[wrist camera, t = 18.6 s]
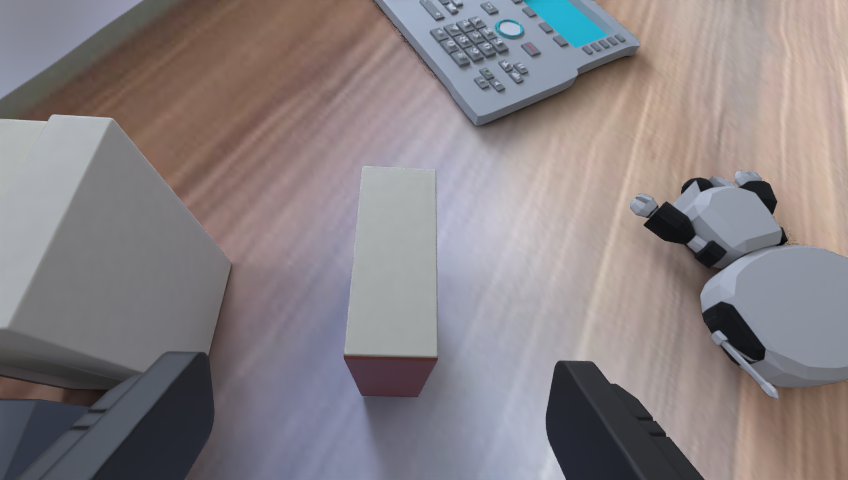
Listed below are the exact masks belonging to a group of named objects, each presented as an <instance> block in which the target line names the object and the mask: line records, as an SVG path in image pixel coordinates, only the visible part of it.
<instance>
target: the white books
mask: <svg viewBox="0 0 848 480" xmlns="http://www.w3.org/2000/svg"><path fill="white" fill-rule="evenodd" d="M231 264H232V262H231V261H230V260H229V258H228V257H227V256H226V255H225V253H224V252H223V251H222V250H221V249H220V247H219V246H218V245H217V244H216V243H215V241H214V240H213V239H212V238H211V237H210V235H209V234H208V233H207V232H206V230H205V229H204V228H203V227H202V226H201V224H200V223H199V222H198V221H197V220H196V218H195V217H194V216H193V215H192V214H191V212H190V211H189V210H188V209H187V207H186V206H185V205H184V204H183V203H182V201H181V200H180V199H179V198H178V197H177V195H176V194H175V193H174V192H173V190H172V189H171V188H170V187H169V186H168V184H167V183H166V182H165V181H164V180H163V178H162V177H161V176H160V175H159V174H158V172H157V171H156V170H155V169H154V167H153V166H152V165H151V164H150V163H149V161H148V160H147V159H146V158H145V157H144V155H143V154H142V153H141V152H140V150H139V149H138V148H137V147H136V146H135V144H134V143H133V142H132V141H131V140H130V138H129V137H128V136H127V135H126V134H125V132H124V131H123V130H122V129H121V127H120V126H119V125H118V124H117V123H116V121H115V120H114V119H112V118H101V117H85V116H68V115H52V116H51V117H50V119H49V120H48V122H45V121H28V120H11V119H0V376H1V377H6V378H11V379H16V380H22V381H27V382H32V383H37V384H42V385H47V386H53V387H58V388H63V389H112V388H113V387H115V386H117V385H119V384H120V383H122V382H124V381H125V380H127V379H129V378H131V377H132V376H134V375H136V374H143V373H144V372H145V371H146V370H147V369H148V368H149V367H150V366H151V365H152V364H153V363H154V362H155V361H156V360H157V359H158V358H159V357H160V356H161V355H162V354H164V353H165V352H167V351H185V352H205V353H206V354H207V356H208V355H209V351H210V347H211V343H212V339H213V335H214V331H215V327H216V323H217V319H218V316H219V312H220V308H221V304H222V300H223V296H224V292H225V288H226V284H227V280H228V276H229V272H230V268H231Z"/></svg>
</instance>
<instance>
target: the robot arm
mask: <svg viewBox="0 0 848 480" xmlns="http://www.w3.org/2000/svg"><path fill="white" fill-rule="evenodd" d="M213 422H214V400H213V391H212V383H211V374H210V365H209V359H208V356H207V354H206V353H205V352H185V351H167V352H165V353H164V354H162V355H161V356H160V357H159V358H158V359H157V360H156V361H155V362H154V363H153V364H152V365H151V366H150V367H149V368H148V369H147V370H146V371H145V372H144V373H143V374H136V375H134V376H132V377H131V378H129V379H127V380H125V381H124V382H122V383H120V384H119V385H117V386H115V387H113V388H112V389H110V390H108V391H107V392H106V393H105V394H104V395H103V396H102V397H101V398H100V399H99V400H98V401H97V402H96V403H95V404H94V405H93V406H91V407H90V408H89V409H88V413H84V414H83V415H82V416H81V417H80V418H79V419H78V420H77V421H76V422H74V423H73V424H72V425H71V428H70V430H69V431H65V432H64V433H63V434H62V435H61V436H60V437H59V438H58V439H56V440H55V441H54V442H53V443H52V444H51V445H50V446H49V447H48V448H47V449H46V450H45V451H44V452H43V453H42V454H41V455H39V456H38V457H37V458H36V459H35V460H34V461H33V462H32V463H31V464H30V465H29V466H28V467H27V468H26V469H25V470H24V471H23V472H21V473H20V474H19V475H18V476H17V477H16V478H15V479H14V480H184V479H185V477H186V475H187V474H188V472H189V470H190V468H191V467H192V465H193V463H194V462H195V460H196V458H197V457H198V455H199V453H200V452H201V450H202V448H203V447H204V445H205V443H206V442H207V440H208V438H209V435H210V433H211V430H212V426H213ZM546 430H547V436H548V440H549V443H550V445H551V447H552V449H553V452H554V454H555V456H556V458H557V461H558V463H559V465H560V467H561V469H562V472H563V474H564V476H565V478H566V480H704V478H703V477H702V476H701V475H700V474H699V472H698V471H697V470H696V469H695V468H694V466H693V465H692V464H691V463H690V462H689V460H688V459H687V458H686V457H685V455H684V454H683V453H682V452H681V451H680V449H679V448H678V447H677V446H676V445H675V443H674V442H673V441H672V440H671V439H670V437H666V433H665V431H664V430H663V429H662V428H661V427H660V425H659V424H658V423H657V422H656V421H653V417H652V416H651V415H650V413H649V412H648V411H647V410H646V409H645V407H644V406H643V405H642V404H641V403H640V401H639V400H638V399H637V398H635V397H634V396H633V395H631V394H630V393H628V392H627V391H626V390H624V389H623V388H621V387H620V386H619V385H617V384H610V383H609V381H608V380H607V379H606V378H605V376H604V375H603V374H602V372H601V371H600V370H599V369H598V367H597V366H596V365H595V364H594V363H593V362H591V361H558V362H557V363H556V365H555V369H554V374H553V379H552V385H551V390H550V396H549V401H548V406H547V412H546Z"/></svg>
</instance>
